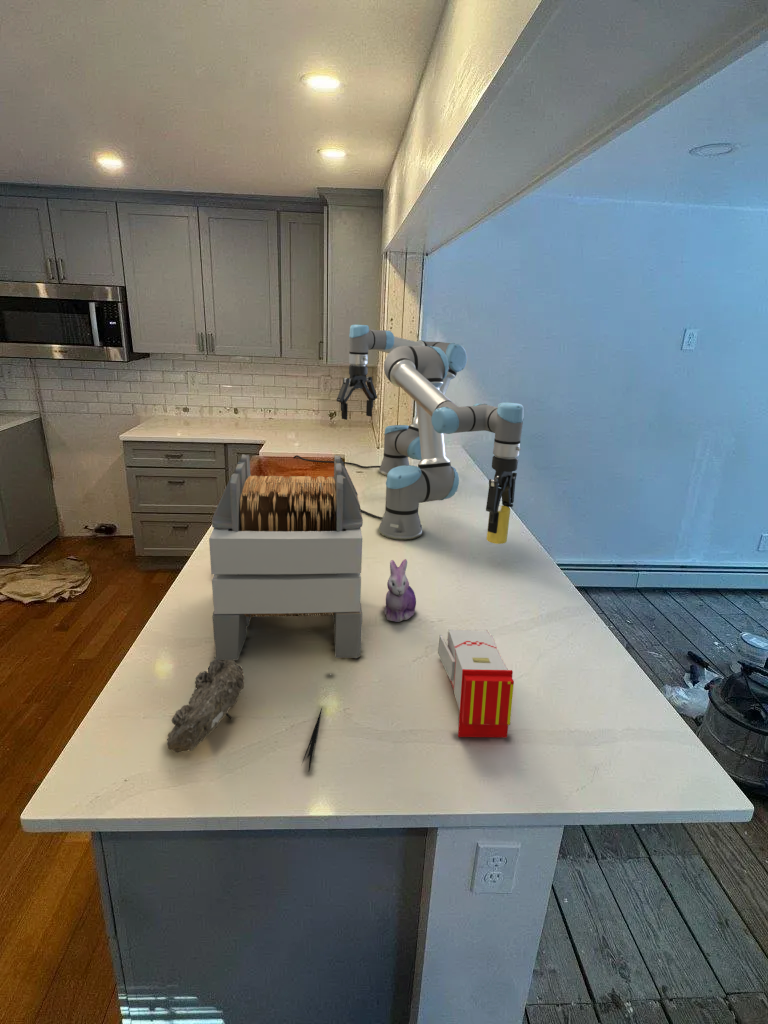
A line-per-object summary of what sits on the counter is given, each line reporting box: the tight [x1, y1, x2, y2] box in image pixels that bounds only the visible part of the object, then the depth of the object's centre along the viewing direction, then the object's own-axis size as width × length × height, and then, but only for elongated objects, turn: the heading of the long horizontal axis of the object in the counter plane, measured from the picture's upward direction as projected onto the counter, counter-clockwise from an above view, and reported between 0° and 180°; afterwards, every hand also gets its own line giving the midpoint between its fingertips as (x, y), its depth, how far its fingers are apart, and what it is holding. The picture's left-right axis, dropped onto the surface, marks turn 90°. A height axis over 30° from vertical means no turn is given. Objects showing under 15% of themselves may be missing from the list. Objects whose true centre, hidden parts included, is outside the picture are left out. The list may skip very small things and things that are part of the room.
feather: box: [301, 673, 332, 771], centre depth 108 cm, size 2×28×2 cm
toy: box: [437, 628, 515, 738], centre depth 117 cm, size 12×13×30 cm
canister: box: [486, 504, 511, 545], centre depth 175 cm, size 6×6×10 cm
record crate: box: [208, 453, 364, 661], centre depth 135 cm, size 34×33×41 cm
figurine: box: [384, 558, 417, 623], centre depth 145 cm, size 9×10×15 cm
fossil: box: [166, 659, 245, 754], centre depth 106 cm, size 22×10×15 cm
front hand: (497, 529), depth 175 cm, fingers closed on canister, 6 cm apart
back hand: (356, 417), depth 235 cm, fingers open, 13 cm apart
